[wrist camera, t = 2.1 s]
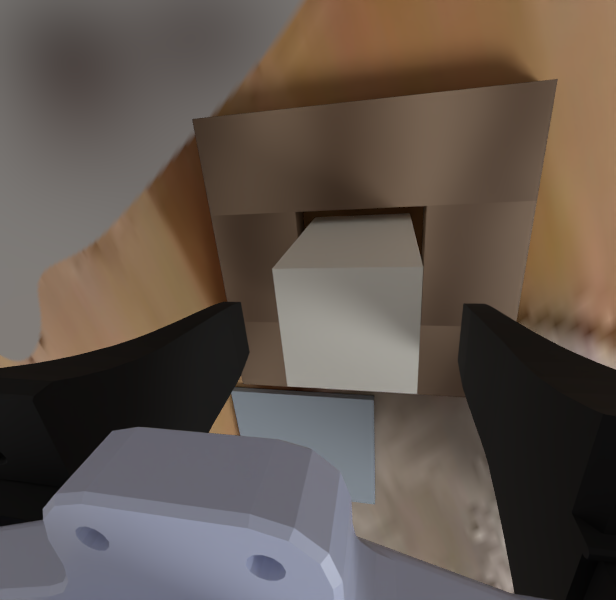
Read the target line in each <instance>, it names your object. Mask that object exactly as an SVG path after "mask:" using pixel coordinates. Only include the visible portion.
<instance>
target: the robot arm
mask: <svg viewBox="0 0 616 600" xmlns="http://www.w3.org/2000/svg"><path fill="white" fill-rule="evenodd" d="M249 353H250V351H249V345H248V340H247V334H246V328H245V323H244V317H243V311H242V306H241V302H222V303H218V304H215V305H213V306H210V307H208V308H206V309H203V310H201V311H199V312H197V313H195V314H192V315H190V316H188V317H186V318H184V319H181V320H179V321H177V322H175V323H172V324H170V325H168V326H165V327H163V328H161V329H158V330H156V331H154V332H151V333H149V334H146V335H144V336H141V337H138V338H135V339H132V340H129V341H126V342H123V343H120V344H117V345H114V346H110V347H107V348H103V349H99V350H95V351H92V352H88V353H84V354H80V355H76V356H71V357H66V358H62V359H56V360H51V361H46V362H40V363H34V364H27V365H20V366H12V367H5V368H0V600H616V370H615V369H612V368H610V367H607V366H605V365H602V364H599V363H597V362H595V361H592V360H590V359H588V358H585V357H583V356H581V355H578V354H576V353H574V352H572V351H569V350H567V349H565V348H563V347H561V346H559V345H557V344H555V343H553V342H551V341H550V340H548V339H546V338H544V337H542V336H540V335H538V334H537V333H535V332H533V331H531V330H530V329H528V328H526V327H524V326H523V325H521V324H519V323H518V322H516V321H514V320H513V319H511V318H510V317H508V316H506V315H505V314H503V313H502V312H500V311H498V310H497V309H495V308H493V307H491V306H489V305H487V304H477V303H463V311H462V321H461V331H460V341H459V351H458V366H459V371H460V377H461V382H462V387H463V390H464V393H465V396H466V399H467V402H468V405H469V408H470V411H471V414H472V416H473V419H474V422H475V425H476V428H477V431H478V434H479V436H480V439H481V442H482V445H483V448H484V451H485V454H486V458H487V461H488V465H489V469H490V474H491V478H492V482H493V487H494V491H495V496H496V500H497V505H498V510H499V515H500V520H501V524H502V529H503V534H504V539H505V544H506V550H507V555H508V560H509V566H510V571H511V576H512V582H513V587H514V593H515V594H512V593H509V592H506V591H503V590H500V589H498V588H495V587H492V586H490V585H487V584H484V583H482V582H479V581H476V580H473V579H471V578H468V577H465V576H463V575H460V574H457V573H455V572H452V571H449V570H446V569H444V568H441V567H438V566H436V565H433V564H430V563H428V562H425V561H422V560H420V559H417V558H414V557H411V556H409V555H406V554H403V553H401V552H398V551H395V550H393V549H390V548H387V547H384V546H382V545H379V544H376V543H374V542H371V541H368V540H366V539H363V538H360V537H357V536H356V535H355V531H354V527H353V523H352V504H351V496H350V493H349V491H348V489H347V486H346V484H345V482H344V479H343V477H342V475H341V472H340V471H339V470H338V469H336V468H335V467H334V466H332V465H331V464H330V463H329V462H327V461H326V460H325V459H324V458H322V457H321V456H320V455H318V454H317V453H316V452H315V451H313V450H312V449H311V448H307V447H304V446H300V445H297V444H294V443H290V442H287V441H283V440H280V439H270V438H259V437H248V436H237V435H226V434H214V433H209V431H210V429H211V427H212V425H213V423H214V422H215V420H216V418H217V416H218V415H219V413H220V411H221V410H222V408H223V406H224V404H225V403H226V401H227V399H228V398H229V396H230V394H231V392H232V391H233V389H234V387H235V385H236V384H237V382H238V380H239V378H240V376H241V374H242V372H243V369H244V367H245V364H246V361H247V359H248V356H249Z"/></svg>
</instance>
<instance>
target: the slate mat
mask: <svg viewBox="0 0 616 600" xmlns="http://www.w3.org/2000/svg"><path fill="white" fill-rule="evenodd" d="M231 394H232V399H233V403H234V408H235V413H236V418H237V422H238V427H239V432H240V436H248V437H259V438H270V439H280V440H283V441H287V442H290V443H294V444H297V445H300V446H304V447H307V448H311V449H312V450H313V451H315V452H316V453H317V454H318V455H320V456H321V457H322V458H324V459H325V460H326V461H327V462H329V463H330V464H331V465H332V466H334V467H335V468H336V469H338V470H339V471H340V472H341V475H342V477H343V479H344V482H345V484H346V486H347V489H348V491H349V493H350V496H351V501H352V502H360V503H368V504H375V453H374V396H369V395H353V394H337V393H320V392H304V391H288V390H272V389H256V388H240V387H234V389H233V391H232V392H231Z"/></svg>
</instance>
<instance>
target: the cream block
mask: <svg viewBox="0 0 616 600" xmlns="http://www.w3.org/2000/svg"><path fill="white" fill-rule="evenodd" d="M272 272H273V280H274V287H275V295H276V303H277V310H278V318H279V326H280V333H281V341H282V348H283V356H284V364H285V371H286V379H287V386H290V387H307V388H324V389H341V390H358V391H374V392H391V393H408V394H417V384H418V363H419V343H420V322H421V301H422V281H423V264H422V260H421V256H420V252H419V248H418V244H417V240H416V236H415V232H414V228H413V224H412V220H411V216H410V213H403V214H380V215H357V216H333V217H315V218H314V219H313V221H312V222H311V223H310V224H309V225H308V227H307V228H306V229H305V230H304V231H303V233H302V234H301V235H300V236H299V237H298V238H297V240H296V241H295V242H294V243H293V244H292V246H291V247H290V248H289V249H288V250H287V252H286V253H285V254H284V255H283V256H282V258H281V259H280V260H279V261H278V262H277V264H276V265H275V266H274V267H273V268H272Z"/></svg>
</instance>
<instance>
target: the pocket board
mask: <svg viewBox="0 0 616 600" xmlns="http://www.w3.org/2000/svg"><path fill="white" fill-rule="evenodd" d="M557 80H558V79H554V80H545V81H536V82H527V83H517V84H508V85H499V86H490V87H481V88H472V89H463V90H454V91H444V92H435V93H426V94H417V95H408V96H399V97H390V98H381V99H372V100H362V101H353V102H344V103H335V104H326V105H317V106H308V107H299V108H290V109H280V110H271V111H262V112H253V113H244V114H235V115H226V116H217V117H207V118H199V119H193V125H194V131H195V136H196V141H197V146H198V151H199V157H200V162H201V167H202V172H203V177H204V183H205V188H206V193H207V198H208V204H209V209H210V214H211V219H212V224H213V230H214V235H215V240H216V245H217V250H218V256H219V261H220V266H221V271H222V276H223V282H224V287H225V292H226V297H227V302H241V306H242V311H243V317H244V323H245V328H246V334H247V340H248V345H249V351H250V353H249V356H248V359H247V361H246V364H245V367H244V369H243V372H242V374H241V376H242V381H243V384H253V385H269V386H286V387H290V386H287V379H286V371H285V364H284V356H283V348H282V341H281V333H280V326H279V318H278V310H277V303H276V295H275V287H274V280H273V272H272V268H273V267H274V266H275V265H276V264H277V262H278V261H279V260H280V259H281V258H282V256H283V255H284V254H285V253H286V252H287V250H288V249H289V248H290V247H291V246H292V244H293V243H294V242H295V241H296V240H297V238H298V237H299V236H300V235H301V234H302V233H303V231H304V221H303V212H304V211H326V210H347V209H369V208H390V207H412V206H424V207H423V229H422V251H421V260H422V264H423V281H422V301H421V322H420V343H419V363H418V384H417V394H420V395H436V396H453V397H466V396H465V393H464V390H463V387H462V382H461V377H460V371H459V366H458V351H459V341H460V331H461V321H462V311H463V303H477V304H487V305H489V306H491V307H493V308H495V309H497V310H498V311H500V312H502V313H503V314H505V315H506V316H508V317H510V318H511V319H513V320H514V321H516V320H517V314H518V309H519V303H520V297H521V291H522V285H523V279H524V273H525V267H526V262H527V256H528V250H529V244H530V238H531V232H532V226H533V221H534V215H535V209H536V203H537V197H538V191H539V185H540V179H541V174H542V168H543V162H544V156H545V150H546V144H547V138H548V132H549V127H550V121H551V115H552V109H553V103H554V97H555V91H556V85H557ZM303 388H307V387H303ZM320 389H324V388H320ZM336 390H341V389H336ZM353 391H358V390H353ZM370 392H374V391H370ZM386 393H391V392H386ZM403 394H408V393H403Z"/></svg>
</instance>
